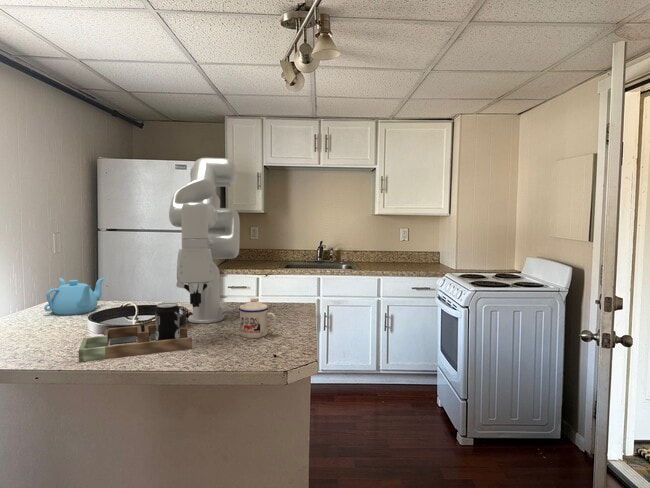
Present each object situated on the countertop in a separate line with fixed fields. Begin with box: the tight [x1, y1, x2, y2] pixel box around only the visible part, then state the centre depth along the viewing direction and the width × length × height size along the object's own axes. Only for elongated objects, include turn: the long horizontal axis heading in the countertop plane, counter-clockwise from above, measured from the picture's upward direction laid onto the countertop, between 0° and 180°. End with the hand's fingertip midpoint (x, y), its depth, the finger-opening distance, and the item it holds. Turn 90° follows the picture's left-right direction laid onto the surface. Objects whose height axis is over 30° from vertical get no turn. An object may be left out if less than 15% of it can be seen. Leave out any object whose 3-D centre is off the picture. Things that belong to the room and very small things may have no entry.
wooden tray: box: [78, 323, 193, 363], centre depth 123 cm, size 28×20×3 cm
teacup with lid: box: [238, 297, 277, 339], centre depth 134 cm, size 12×9×12 cm
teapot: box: [43, 277, 106, 316], centre depth 163 cm, size 17×19×12 cm
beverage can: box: [154, 301, 181, 341], centre depth 122 cm, size 7×7×12 cm
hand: (195, 306), depth 125 cm, fingers closed
